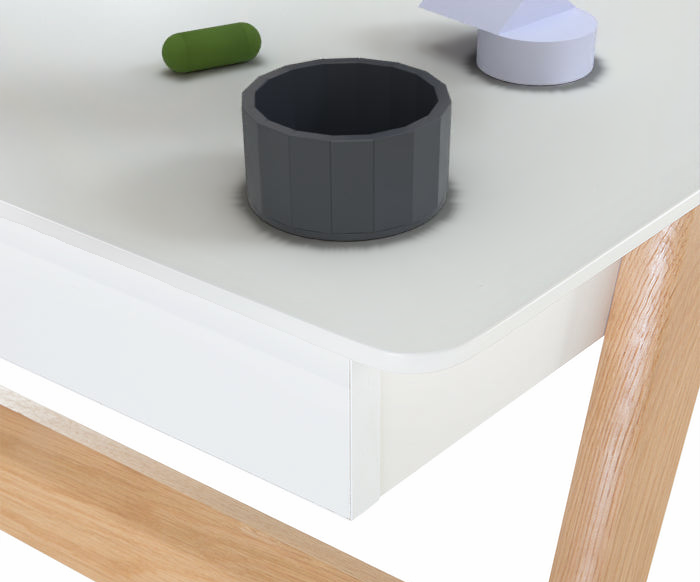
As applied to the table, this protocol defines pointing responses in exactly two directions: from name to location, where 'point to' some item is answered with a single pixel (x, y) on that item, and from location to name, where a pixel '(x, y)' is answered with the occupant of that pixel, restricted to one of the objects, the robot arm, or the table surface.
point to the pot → (346, 147)
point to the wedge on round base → (527, 38)
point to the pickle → (211, 47)
